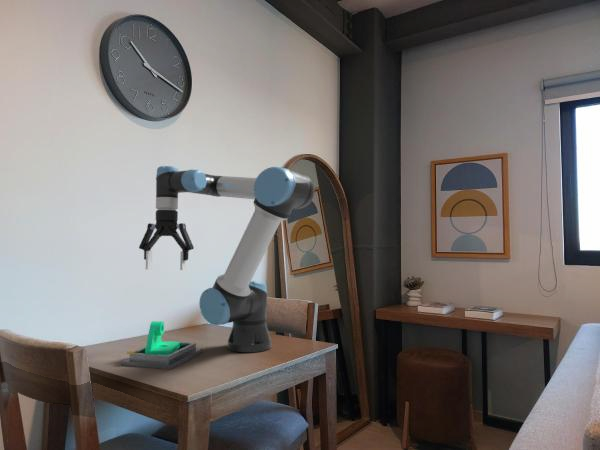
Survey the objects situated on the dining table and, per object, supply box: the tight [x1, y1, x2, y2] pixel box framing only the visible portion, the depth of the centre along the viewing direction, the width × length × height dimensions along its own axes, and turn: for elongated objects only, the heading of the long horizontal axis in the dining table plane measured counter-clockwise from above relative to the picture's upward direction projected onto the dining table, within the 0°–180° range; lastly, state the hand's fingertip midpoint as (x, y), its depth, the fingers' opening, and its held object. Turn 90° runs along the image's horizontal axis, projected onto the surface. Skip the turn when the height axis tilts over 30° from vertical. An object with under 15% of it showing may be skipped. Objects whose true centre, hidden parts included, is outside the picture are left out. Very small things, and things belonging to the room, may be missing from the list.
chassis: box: [121, 340, 203, 370], centre depth 135 cm, size 16×20×4 cm
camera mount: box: [145, 320, 181, 355], centre depth 135 cm, size 12×8×10 cm, turn 2°
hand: (165, 269), depth 152 cm, fingers open, 13 cm apart
